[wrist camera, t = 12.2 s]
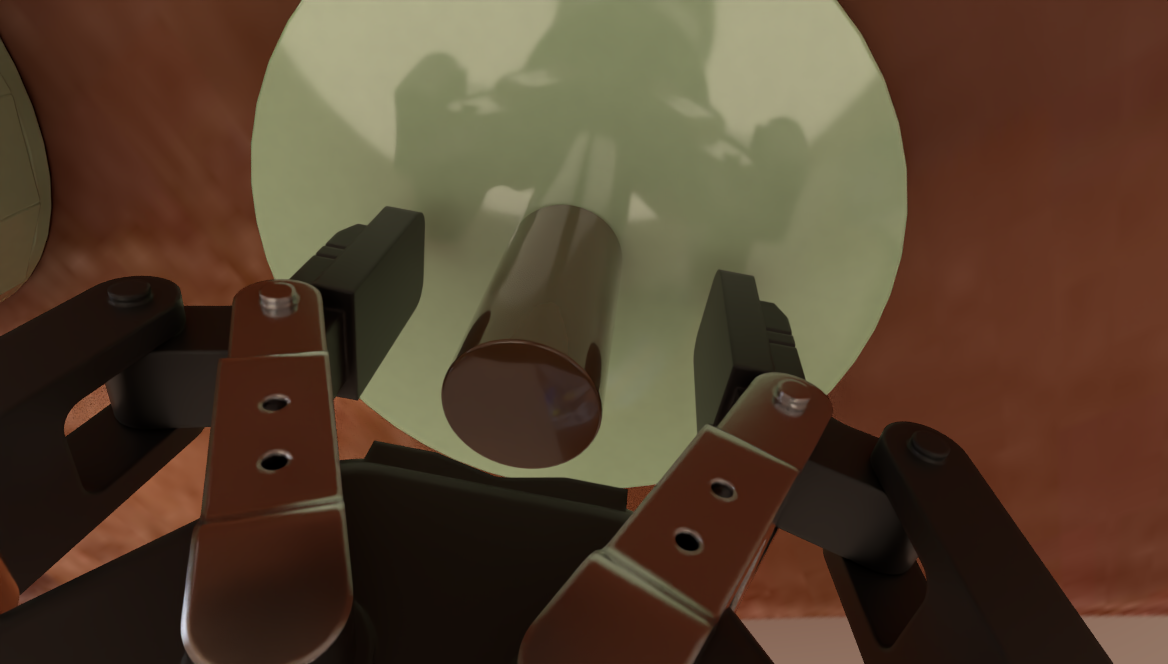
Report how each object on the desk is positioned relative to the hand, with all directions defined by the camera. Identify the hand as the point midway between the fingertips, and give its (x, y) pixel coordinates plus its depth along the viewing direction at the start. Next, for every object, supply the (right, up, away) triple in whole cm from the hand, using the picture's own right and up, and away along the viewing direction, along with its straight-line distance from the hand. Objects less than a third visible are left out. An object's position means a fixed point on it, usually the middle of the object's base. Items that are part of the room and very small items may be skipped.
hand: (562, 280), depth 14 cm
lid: (0, +1, +2) cm, 2 cm away
